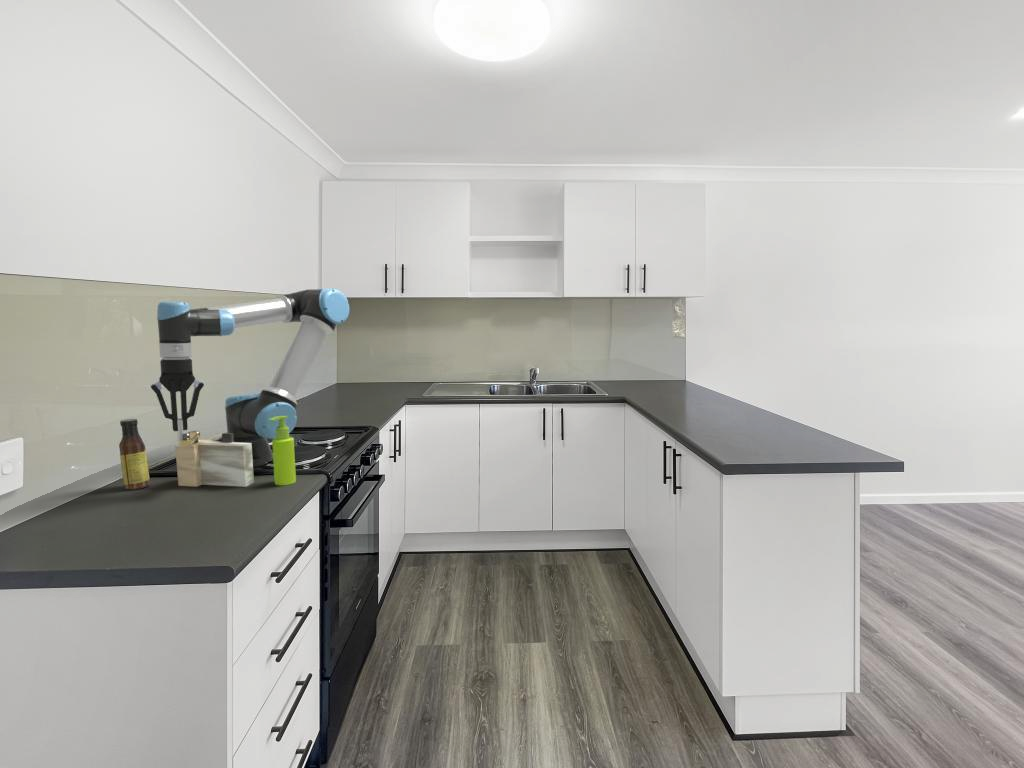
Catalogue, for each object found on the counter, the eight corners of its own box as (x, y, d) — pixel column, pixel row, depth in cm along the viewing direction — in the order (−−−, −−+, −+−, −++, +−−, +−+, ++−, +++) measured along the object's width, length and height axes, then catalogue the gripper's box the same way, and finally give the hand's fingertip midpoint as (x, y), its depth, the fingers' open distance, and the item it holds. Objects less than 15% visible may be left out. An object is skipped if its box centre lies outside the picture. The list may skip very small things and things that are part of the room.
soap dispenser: (267, 484, 164) (263, 417, 161) (286, 478, 170) (283, 413, 167) (281, 487, 161) (277, 419, 158) (300, 481, 167) (296, 415, 165)
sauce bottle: (155, 484, 164) (149, 417, 162) (139, 491, 158) (132, 422, 156) (134, 483, 165) (128, 417, 163) (117, 490, 159) (111, 421, 156)
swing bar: (188, 436, 166) (188, 425, 165) (201, 435, 167) (200, 425, 166) (179, 446, 153) (178, 435, 153) (192, 445, 155) (191, 434, 154)
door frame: (197, 477, 171) (194, 430, 169) (258, 480, 168) (255, 432, 166) (178, 485, 163) (174, 436, 161) (241, 488, 160) (238, 438, 158)
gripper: (149, 360, 148) (154, 447, 151) (203, 358, 155) (208, 442, 158) (148, 358, 154) (153, 442, 157) (200, 356, 161) (204, 437, 164)
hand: (181, 442), depth 157 cm, fingers closed
